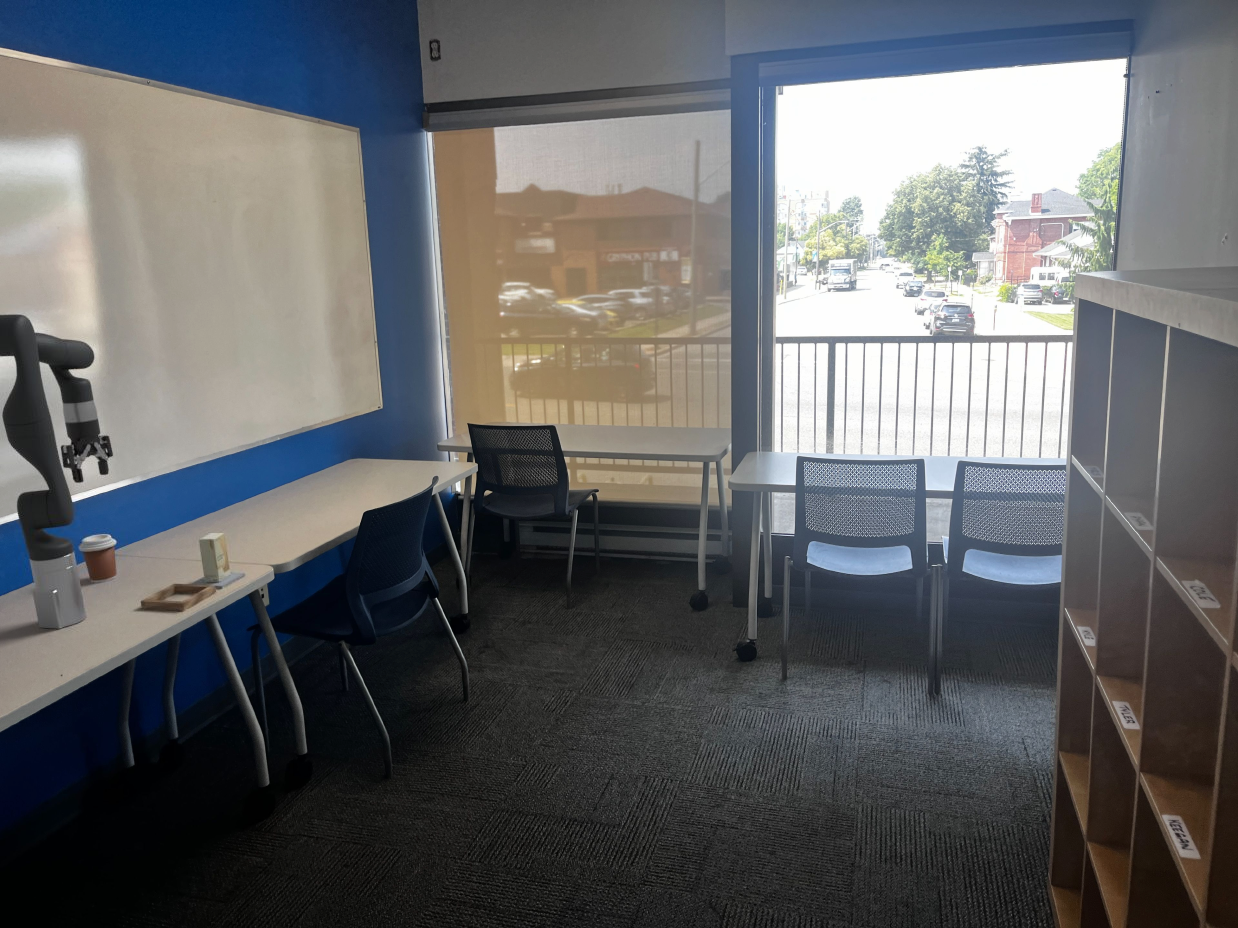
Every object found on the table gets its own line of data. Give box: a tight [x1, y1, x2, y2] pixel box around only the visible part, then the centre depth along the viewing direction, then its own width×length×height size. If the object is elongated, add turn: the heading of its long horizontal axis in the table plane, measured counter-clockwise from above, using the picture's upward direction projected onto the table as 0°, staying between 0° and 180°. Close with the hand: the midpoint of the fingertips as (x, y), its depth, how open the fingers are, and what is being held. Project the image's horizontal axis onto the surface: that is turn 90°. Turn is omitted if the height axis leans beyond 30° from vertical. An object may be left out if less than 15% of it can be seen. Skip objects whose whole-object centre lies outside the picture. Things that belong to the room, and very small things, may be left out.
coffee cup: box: [78, 533, 118, 584], centre depth 246 cm, size 9×9×12 cm
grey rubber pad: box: [190, 571, 246, 589], centre depth 242 cm, size 10×10×1 cm
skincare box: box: [198, 532, 231, 582], centre depth 240 cm, size 6×4×12 cm
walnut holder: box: [140, 583, 217, 612], centre depth 229 cm, size 12×12×2 cm
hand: (92, 478), depth 236 cm, fingers open, 8 cm apart
